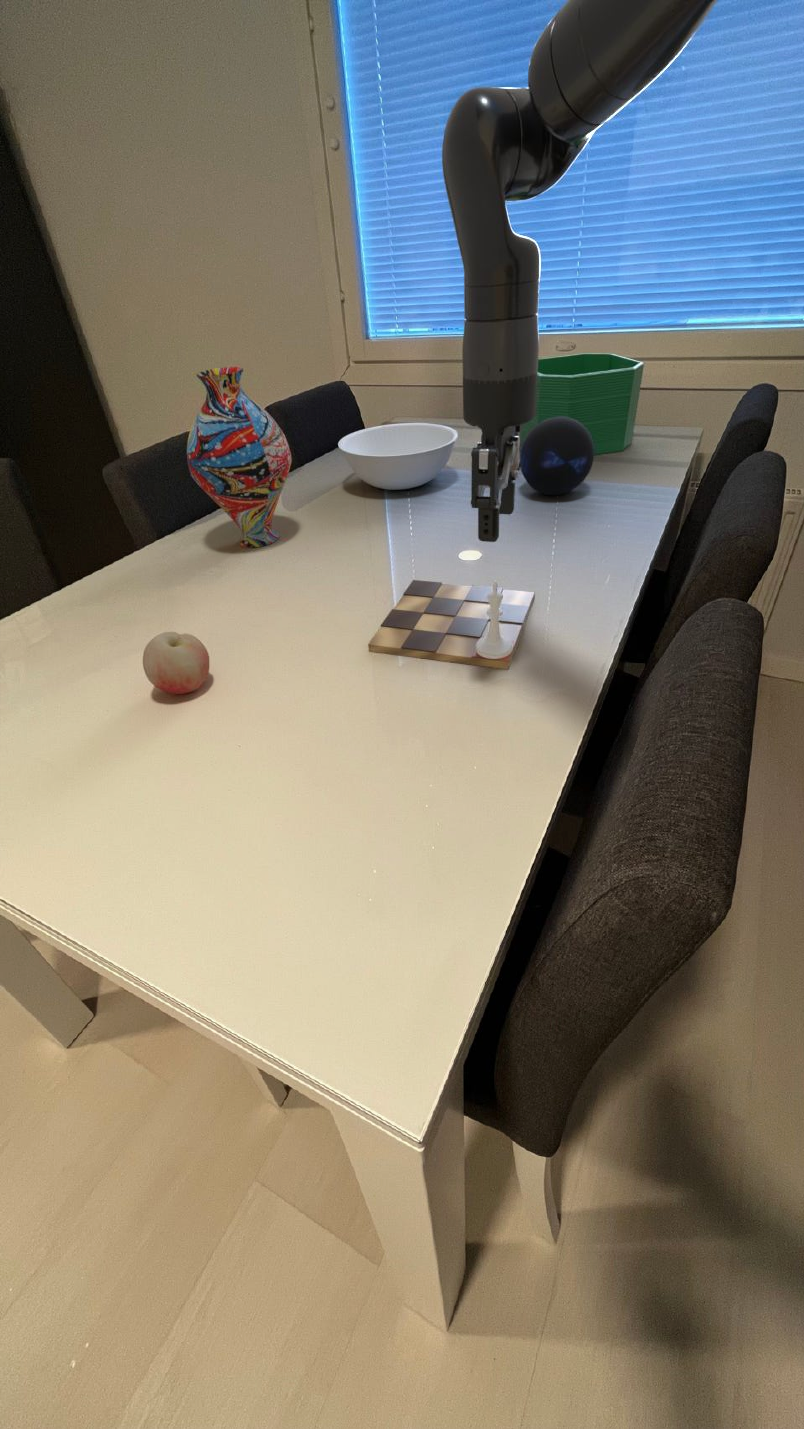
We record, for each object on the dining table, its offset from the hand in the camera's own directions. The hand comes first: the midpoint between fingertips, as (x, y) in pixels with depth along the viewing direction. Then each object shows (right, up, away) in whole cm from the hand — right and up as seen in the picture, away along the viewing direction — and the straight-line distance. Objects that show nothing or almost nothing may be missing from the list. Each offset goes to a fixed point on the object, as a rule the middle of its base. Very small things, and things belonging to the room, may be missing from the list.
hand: (496, 526), depth 71 cm
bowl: (-11, +33, +72) cm, 80 cm away
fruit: (-41, -19, +12) cm, 46 cm away
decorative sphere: (+22, +25, +59) cm, 68 cm away
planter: (+33, +49, +88) cm, 106 cm away
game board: (-3, -9, +19) cm, 21 cm away
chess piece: (+1, -14, +11) cm, 17 cm away
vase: (-40, +13, +51) cm, 66 cm away
